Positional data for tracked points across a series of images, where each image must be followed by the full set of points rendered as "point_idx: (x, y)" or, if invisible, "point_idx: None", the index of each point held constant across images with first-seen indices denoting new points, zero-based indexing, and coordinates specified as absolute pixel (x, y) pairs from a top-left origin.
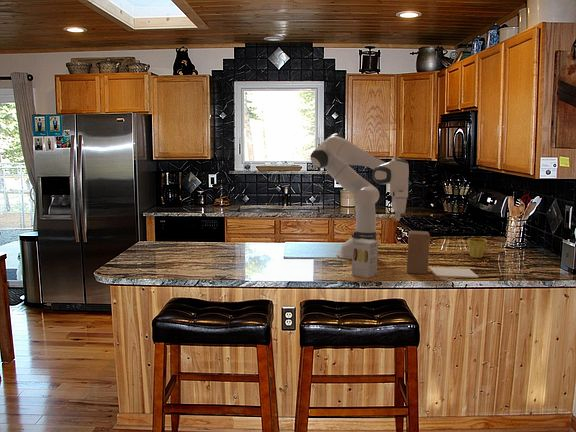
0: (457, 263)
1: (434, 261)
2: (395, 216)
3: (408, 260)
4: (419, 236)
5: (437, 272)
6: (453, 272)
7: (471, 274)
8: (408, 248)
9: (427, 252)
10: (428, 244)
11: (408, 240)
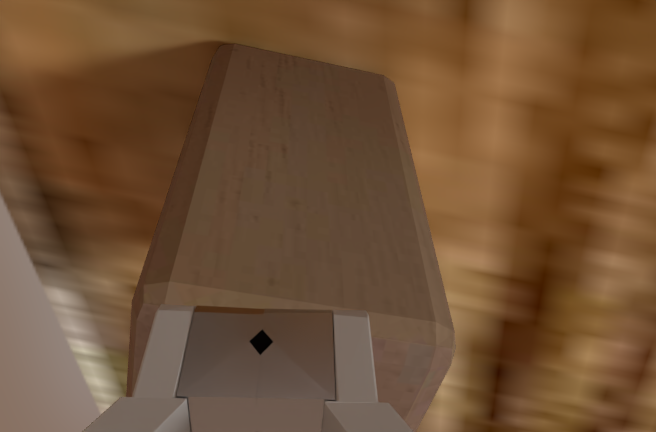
0: (543, 410)
1: (626, 315)
2: (361, 388)
3: (202, 98)
4: (128, 385)
5: None
6: None
7: None
8: (189, 163)
9: None
10: None
11: (191, 226)
